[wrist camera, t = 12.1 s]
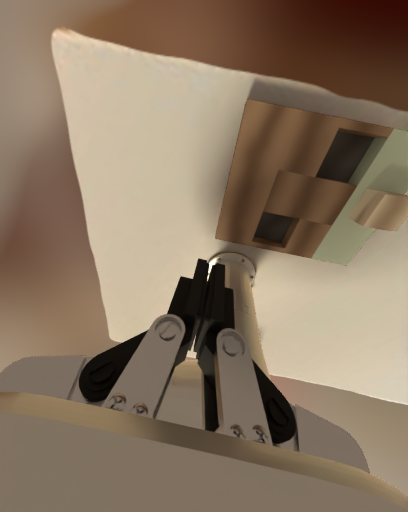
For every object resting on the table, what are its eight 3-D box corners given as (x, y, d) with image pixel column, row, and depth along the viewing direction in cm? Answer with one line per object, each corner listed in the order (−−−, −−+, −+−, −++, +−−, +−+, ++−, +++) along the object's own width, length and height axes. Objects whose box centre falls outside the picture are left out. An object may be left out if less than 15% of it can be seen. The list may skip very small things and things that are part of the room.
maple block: (397, 192, 27) (421, 199, 24) (376, 222, 30) (395, 231, 26) (366, 188, 27) (385, 194, 24) (347, 217, 30) (363, 226, 27)
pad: (426, 140, 25) (448, 139, 23) (338, 257, 38) (346, 265, 35) (377, 130, 25) (394, 128, 23) (305, 251, 38) (311, 258, 35)
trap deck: (377, 130, 25) (394, 128, 23) (305, 251, 38) (311, 258, 35) (245, 103, 26) (247, 99, 23) (216, 232, 38) (215, 238, 35)
